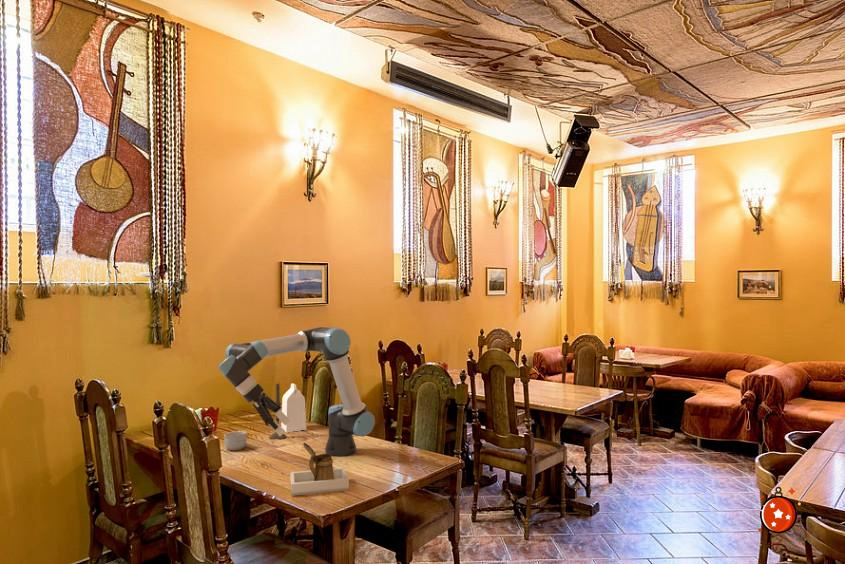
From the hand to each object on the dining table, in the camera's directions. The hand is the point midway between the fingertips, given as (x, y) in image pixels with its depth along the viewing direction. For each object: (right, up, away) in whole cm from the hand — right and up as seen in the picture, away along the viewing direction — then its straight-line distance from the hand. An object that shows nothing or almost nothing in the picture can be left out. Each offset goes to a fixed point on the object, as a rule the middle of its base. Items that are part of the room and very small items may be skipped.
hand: (285, 428), depth 224 cm
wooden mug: (+14, -22, -2) cm, 26 cm away
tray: (+14, -23, -1) cm, 27 cm away
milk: (-19, -26, +96) cm, 102 cm away
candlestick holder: (-23, -26, +78) cm, 85 cm away
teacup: (-39, -25, +57) cm, 74 cm away
